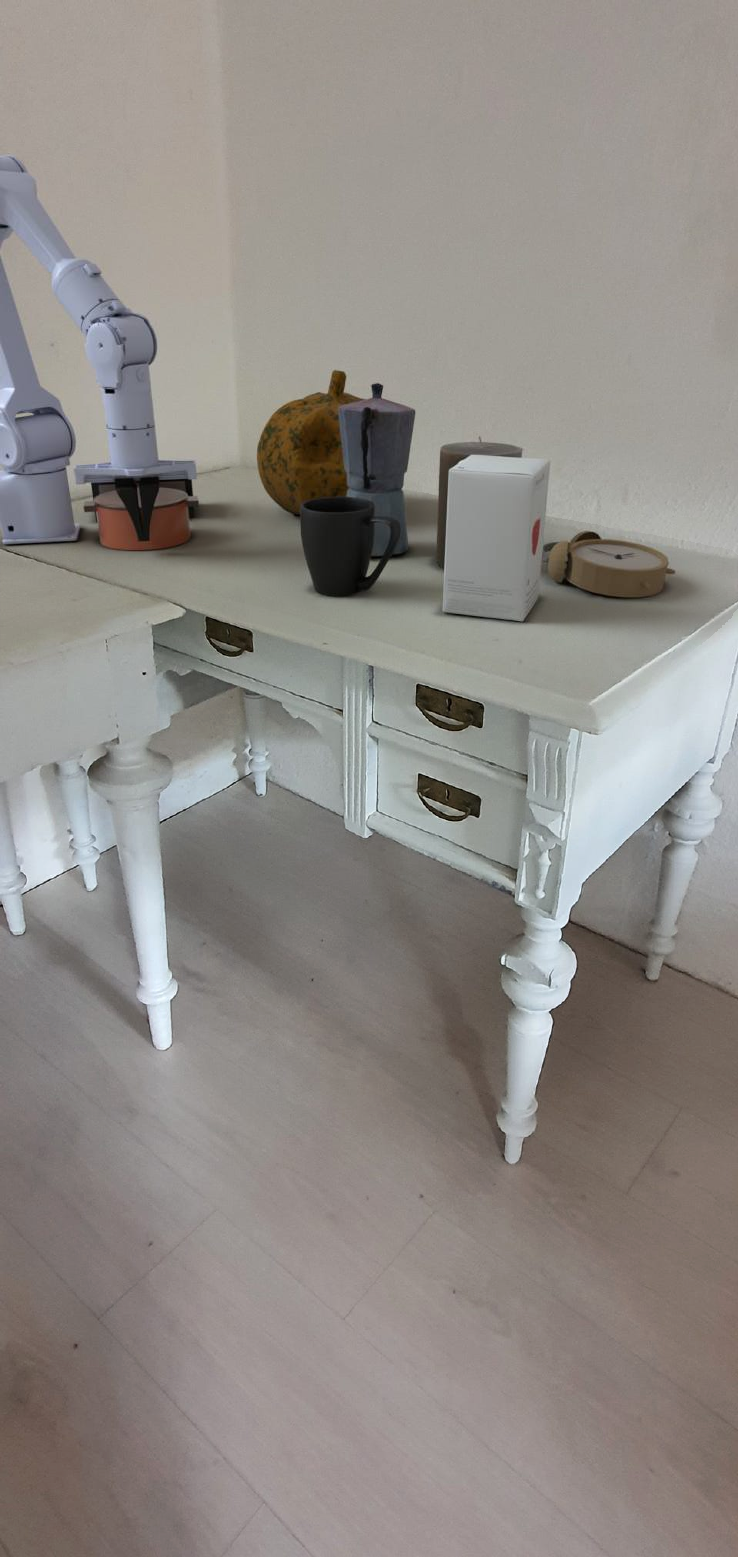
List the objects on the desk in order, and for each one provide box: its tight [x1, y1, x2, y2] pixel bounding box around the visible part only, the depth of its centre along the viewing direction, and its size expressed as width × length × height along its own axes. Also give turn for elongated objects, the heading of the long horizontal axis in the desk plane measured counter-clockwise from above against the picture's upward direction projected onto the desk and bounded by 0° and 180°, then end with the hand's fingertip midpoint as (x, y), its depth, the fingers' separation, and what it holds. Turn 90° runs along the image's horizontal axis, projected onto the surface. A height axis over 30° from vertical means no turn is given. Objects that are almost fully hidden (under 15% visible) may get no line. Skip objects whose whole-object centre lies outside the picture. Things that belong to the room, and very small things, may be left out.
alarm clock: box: [542, 530, 676, 598], centre depth 112 cm, size 11×5×15 cm
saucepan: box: [83, 488, 200, 551], centre depth 129 cm, size 15×12×6 cm
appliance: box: [90, 474, 196, 523], centre depth 142 cm, size 14×9×7 cm, turn 101°
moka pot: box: [338, 382, 417, 557], centre depth 119 cm, size 10×15×20 cm, turn 174°
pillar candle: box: [436, 435, 524, 569], centre depth 116 cm, size 10×10×15 cm
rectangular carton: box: [442, 455, 551, 622], centre depth 101 cm, size 9×9×15 cm
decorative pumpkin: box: [256, 369, 367, 516], centre depth 138 cm, size 20×21×20 cm
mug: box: [299, 497, 400, 597], centre depth 107 cm, size 8×12×10 cm
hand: (144, 539), depth 123 cm, fingers closed, pressing on saucepan
